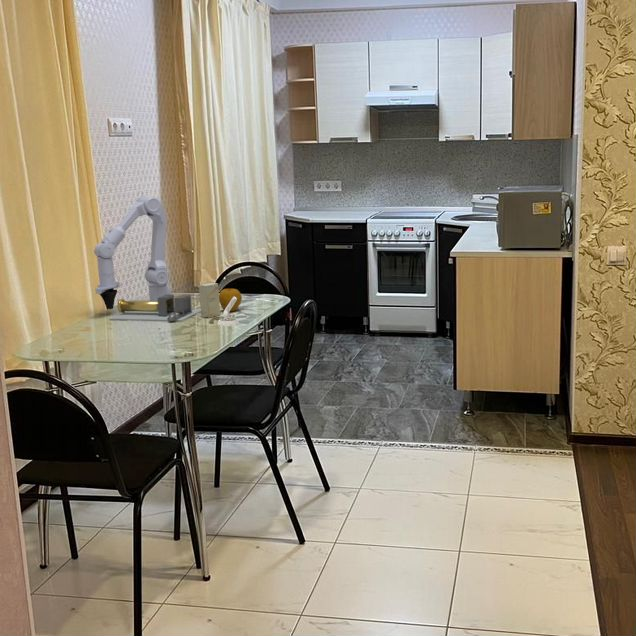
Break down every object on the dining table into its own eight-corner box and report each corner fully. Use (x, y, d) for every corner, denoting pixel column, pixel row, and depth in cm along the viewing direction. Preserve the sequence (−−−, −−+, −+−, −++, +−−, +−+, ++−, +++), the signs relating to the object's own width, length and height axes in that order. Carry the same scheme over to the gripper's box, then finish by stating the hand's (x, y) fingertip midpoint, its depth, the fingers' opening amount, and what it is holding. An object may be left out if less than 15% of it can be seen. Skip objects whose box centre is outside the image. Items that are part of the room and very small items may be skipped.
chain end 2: (184, 312, 315) (183, 294, 313) (191, 312, 314) (190, 294, 312) (166, 320, 301) (165, 302, 299) (174, 321, 300) (172, 302, 299)
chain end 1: (176, 308, 324) (175, 290, 322) (183, 308, 323) (182, 290, 321) (158, 316, 310) (157, 298, 308) (166, 316, 309) (164, 298, 307)
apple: (245, 308, 320) (243, 286, 318) (237, 313, 312) (236, 290, 310) (224, 308, 322) (222, 286, 320) (216, 313, 314) (215, 290, 312)
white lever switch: (250, 310, 289) (233, 301, 287) (232, 337, 292) (215, 328, 290) (249, 302, 296) (233, 293, 294) (232, 328, 299) (215, 319, 297)
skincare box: (209, 318, 305) (206, 285, 303) (200, 317, 308) (198, 285, 305) (221, 315, 310) (218, 283, 307) (212, 314, 313) (210, 282, 310)
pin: (125, 311, 321) (123, 298, 320) (170, 311, 315) (169, 298, 314) (118, 314, 316) (116, 300, 315) (163, 314, 310) (162, 301, 309)
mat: (133, 310, 327) (132, 308, 327) (202, 311, 318) (202, 309, 318) (109, 320, 310) (109, 318, 310) (182, 321, 302) (181, 319, 301)
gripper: (107, 271, 325) (110, 305, 327) (86, 277, 311) (90, 312, 314) (123, 271, 323) (126, 305, 325) (103, 277, 309) (107, 312, 312)
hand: (109, 308), depth 319 cm, fingers closed
